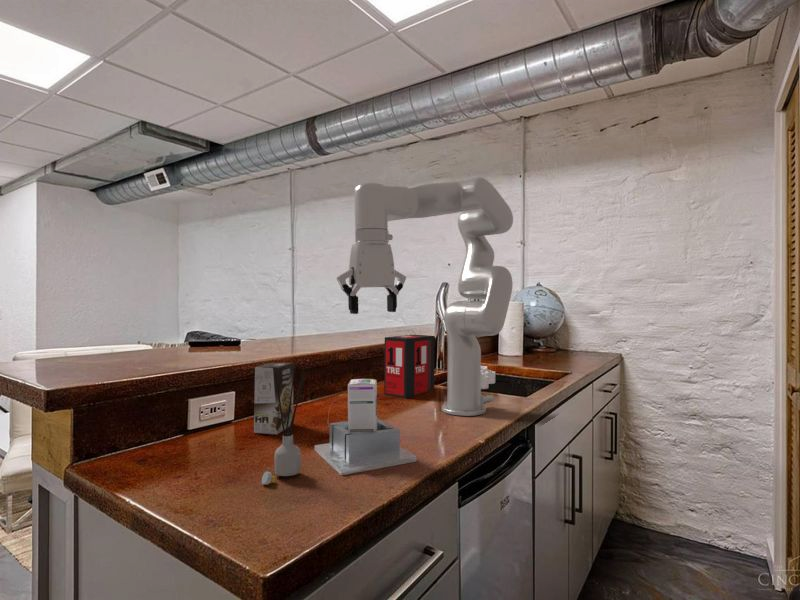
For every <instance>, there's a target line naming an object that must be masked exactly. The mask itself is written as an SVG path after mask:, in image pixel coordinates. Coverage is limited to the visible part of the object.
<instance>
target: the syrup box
mask: <svg viewBox="0 0 800 600" xmlns="http://www.w3.org/2000/svg"><path fill="white" fill-rule="evenodd" d="M377 381H378V380H377V379H375V378H355V379H350V381H349V382H348V384H347V421H348V431H349V432H351V433H352V434H358V433H365V432H372V431H377V418H378V395H377V394H378V389H377V388H378V387H377V386H378V385H377V384H378V383H377Z"/></svg>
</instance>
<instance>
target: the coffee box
mask: <svg viewBox="0 0 800 600" xmlns="http://www.w3.org/2000/svg"><path fill="white" fill-rule="evenodd" d="M275 371H276V374H277V381H278V388H279V395H280V402H281V409H282V416H283V423H284V430H285V431H286V426H287V418H288V411H289V403H290V395H291V388H292V380H293V372H294V362H270V363H266V364H261V365H257V366H255V367H254V398H253V399H254V401H253V403H254V404H253V405H254V407H253V408H254V409H253V410H254V411H253V413H254V414H253V415H254V416H253V433H254V434H265V435H274V434H275V435H279V434H280V433H282V432H283V427H282V420H281V413H280V406H279V399H278V392H277V385H276V378H275ZM293 413H294V390H293V391H292V399H291V407H290V414H289V422H288V428H289V427H290V424H291V420H292V417H293Z"/></svg>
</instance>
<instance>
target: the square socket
mask: <svg viewBox="0 0 800 600" xmlns="http://www.w3.org/2000/svg"><path fill="white" fill-rule="evenodd" d="M400 443H401V430H400V429H399V428H397V427H395V426H394V425H391V424H389V423H388V422H386V421H384V420H382V419H380V418H379V417H377V431H372V432H365V433H358V434H352V433H351V432H349V431H348V420H346V421H338V422H330V423H329V442H328V443H321V444H315V445H314V451H315V452H316V453H317V454H318V455H319V456H320V457H322V459H323V460H324V461H325V462H326V463H327V464H328V465H329V466H331V468H333V469H334V470H335V471H336V472H337V473H338V474H339V475H340V476H345V475H346V476H347V475H351V474H355V473H362V472H363V473H364V472H367V471H373V470H377V469H384V468H387V467H388V468H389V467H395V466H400V465H404V464H409V463H410V464H411V463H416V462H418V461H417V460H418V459H417V456H416V454H413V453H412V452H410V451H408V450H407V449H405V448H404V447H401V445H400Z"/></svg>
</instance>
